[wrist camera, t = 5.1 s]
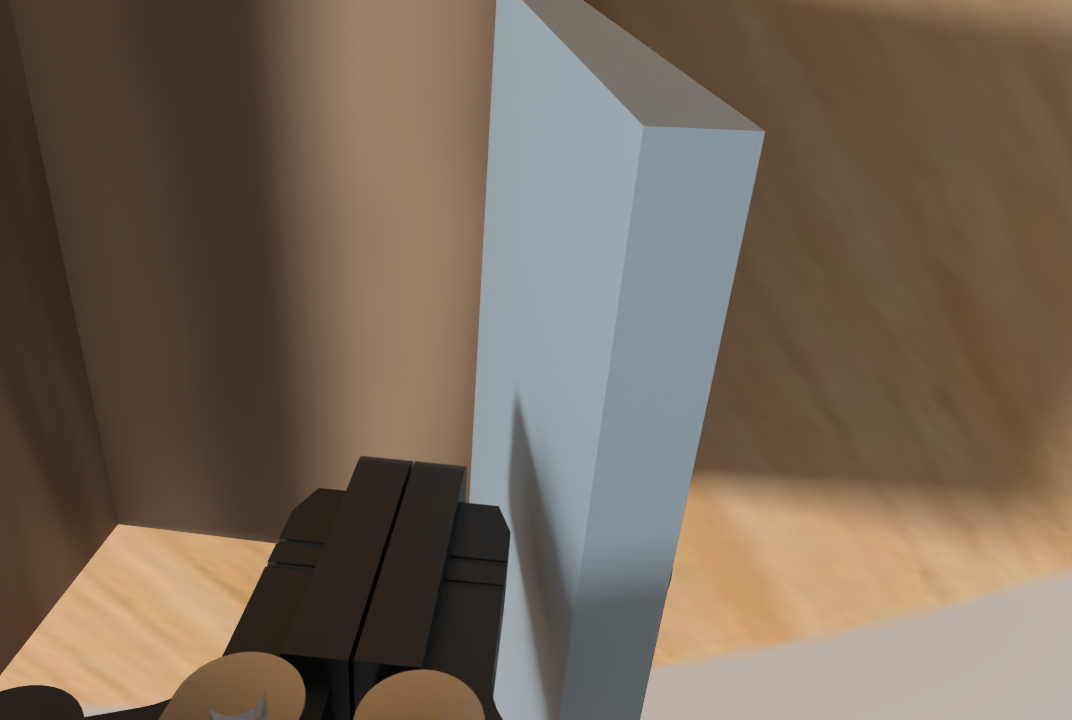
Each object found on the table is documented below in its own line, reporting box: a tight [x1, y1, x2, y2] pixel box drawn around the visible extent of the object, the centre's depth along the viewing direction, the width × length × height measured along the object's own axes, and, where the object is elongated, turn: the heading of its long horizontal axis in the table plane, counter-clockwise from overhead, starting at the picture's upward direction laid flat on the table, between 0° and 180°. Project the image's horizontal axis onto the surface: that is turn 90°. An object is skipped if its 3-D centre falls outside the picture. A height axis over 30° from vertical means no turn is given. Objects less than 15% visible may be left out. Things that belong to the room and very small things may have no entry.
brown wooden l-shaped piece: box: [0, 0, 496, 675], centre depth 18 cm, size 12×16×9 cm
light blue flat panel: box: [469, 0, 765, 720], centre depth 14 cm, size 2×13×10 cm, turn 175°
